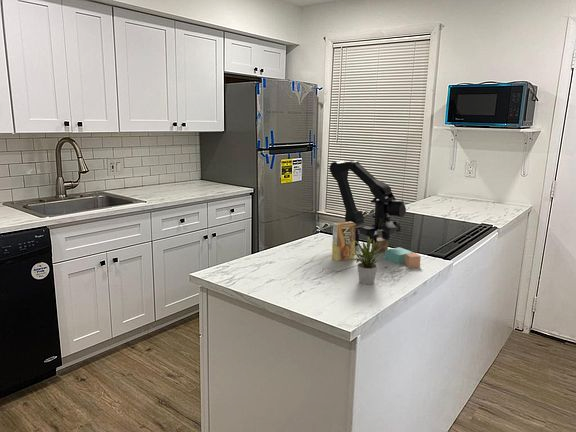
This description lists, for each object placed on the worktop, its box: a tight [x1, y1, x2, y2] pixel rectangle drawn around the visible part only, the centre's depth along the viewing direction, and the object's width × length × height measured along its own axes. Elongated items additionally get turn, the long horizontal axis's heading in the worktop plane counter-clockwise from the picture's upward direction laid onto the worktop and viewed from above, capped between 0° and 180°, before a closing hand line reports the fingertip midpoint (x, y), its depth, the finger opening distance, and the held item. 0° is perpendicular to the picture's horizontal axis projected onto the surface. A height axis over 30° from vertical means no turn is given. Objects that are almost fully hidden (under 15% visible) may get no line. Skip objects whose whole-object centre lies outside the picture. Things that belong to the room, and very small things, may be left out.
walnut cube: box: [374, 236, 389, 253], centre depth 196 cm, size 5×5×5 cm
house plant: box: [351, 236, 384, 285], centre depth 158 cm, size 14×14×16 cm
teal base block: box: [384, 247, 414, 265], centre depth 183 cm, size 8×8×4 cm
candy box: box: [331, 221, 356, 262], centre depth 183 cm, size 9×4×15 cm, turn 116°
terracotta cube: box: [404, 252, 421, 268], centre depth 176 cm, size 4×4×4 cm
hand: (379, 247), depth 196 cm, fingers closed on walnut cube, 5 cm apart
